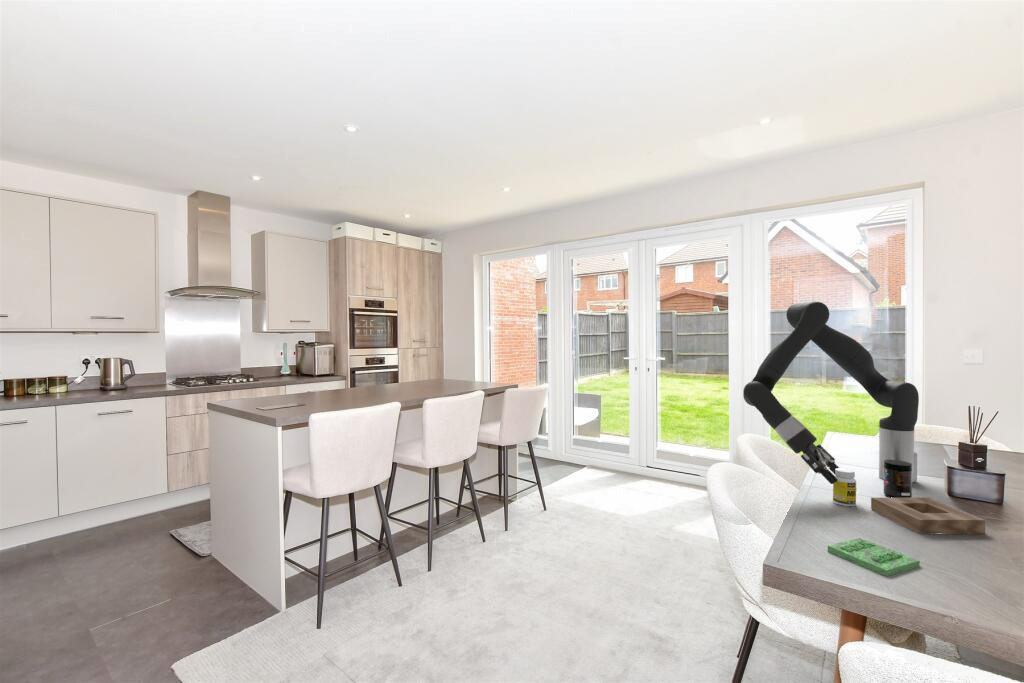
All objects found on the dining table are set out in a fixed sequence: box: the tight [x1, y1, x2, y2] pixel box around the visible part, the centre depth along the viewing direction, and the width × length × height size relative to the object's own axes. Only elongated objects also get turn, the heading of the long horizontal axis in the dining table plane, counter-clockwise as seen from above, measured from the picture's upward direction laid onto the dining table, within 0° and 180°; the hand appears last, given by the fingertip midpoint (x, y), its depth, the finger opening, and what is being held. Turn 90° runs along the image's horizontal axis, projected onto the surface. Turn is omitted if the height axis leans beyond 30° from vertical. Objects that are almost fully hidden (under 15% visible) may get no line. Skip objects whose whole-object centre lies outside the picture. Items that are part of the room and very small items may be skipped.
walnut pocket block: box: [870, 497, 986, 535], centre depth 124 cm, size 16×16×4 cm
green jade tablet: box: [827, 537, 920, 577], centre depth 104 cm, size 11×12×2 cm
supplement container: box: [883, 460, 913, 498], centre depth 143 cm, size 7×7×10 cm
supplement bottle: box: [832, 467, 857, 507], centre depth 137 cm, size 6×6×10 cm
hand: (838, 479), depth 138 cm, fingers open, 8 cm apart
